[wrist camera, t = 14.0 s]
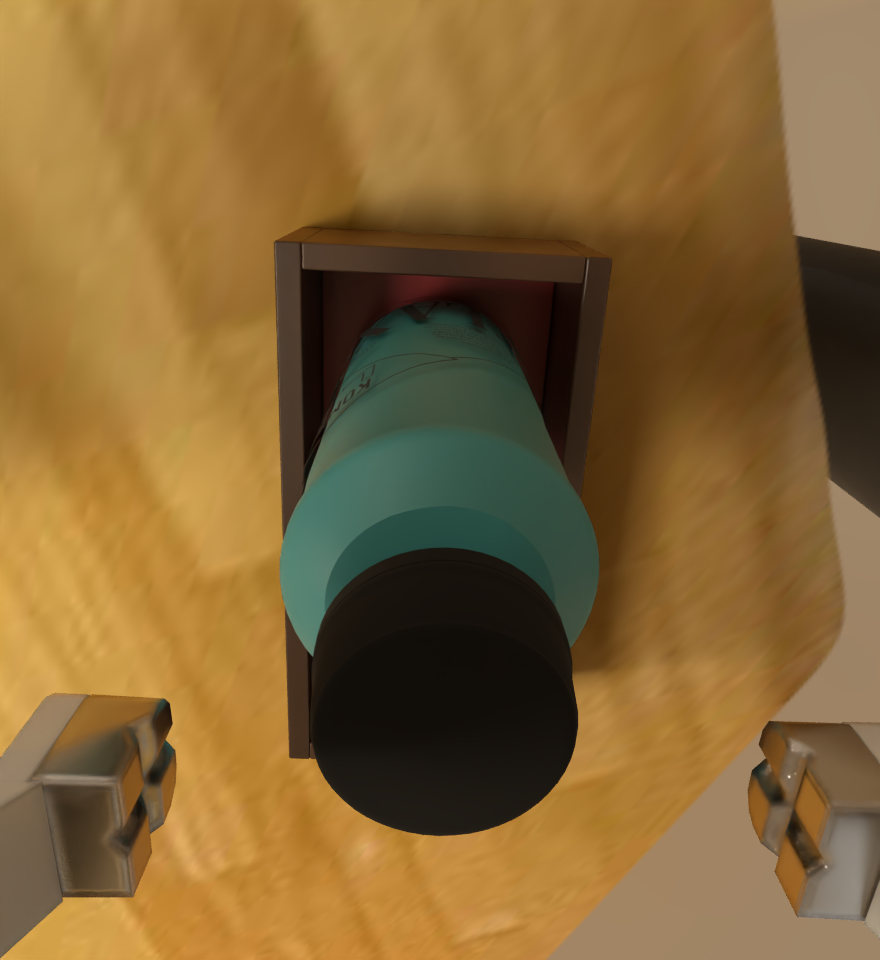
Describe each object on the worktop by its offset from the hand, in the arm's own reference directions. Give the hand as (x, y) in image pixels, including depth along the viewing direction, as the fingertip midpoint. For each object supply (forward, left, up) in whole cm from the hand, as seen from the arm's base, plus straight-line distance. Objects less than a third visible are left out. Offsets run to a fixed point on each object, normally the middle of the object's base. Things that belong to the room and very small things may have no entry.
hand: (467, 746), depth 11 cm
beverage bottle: (0, 0, -20) cm, 20 cm away
